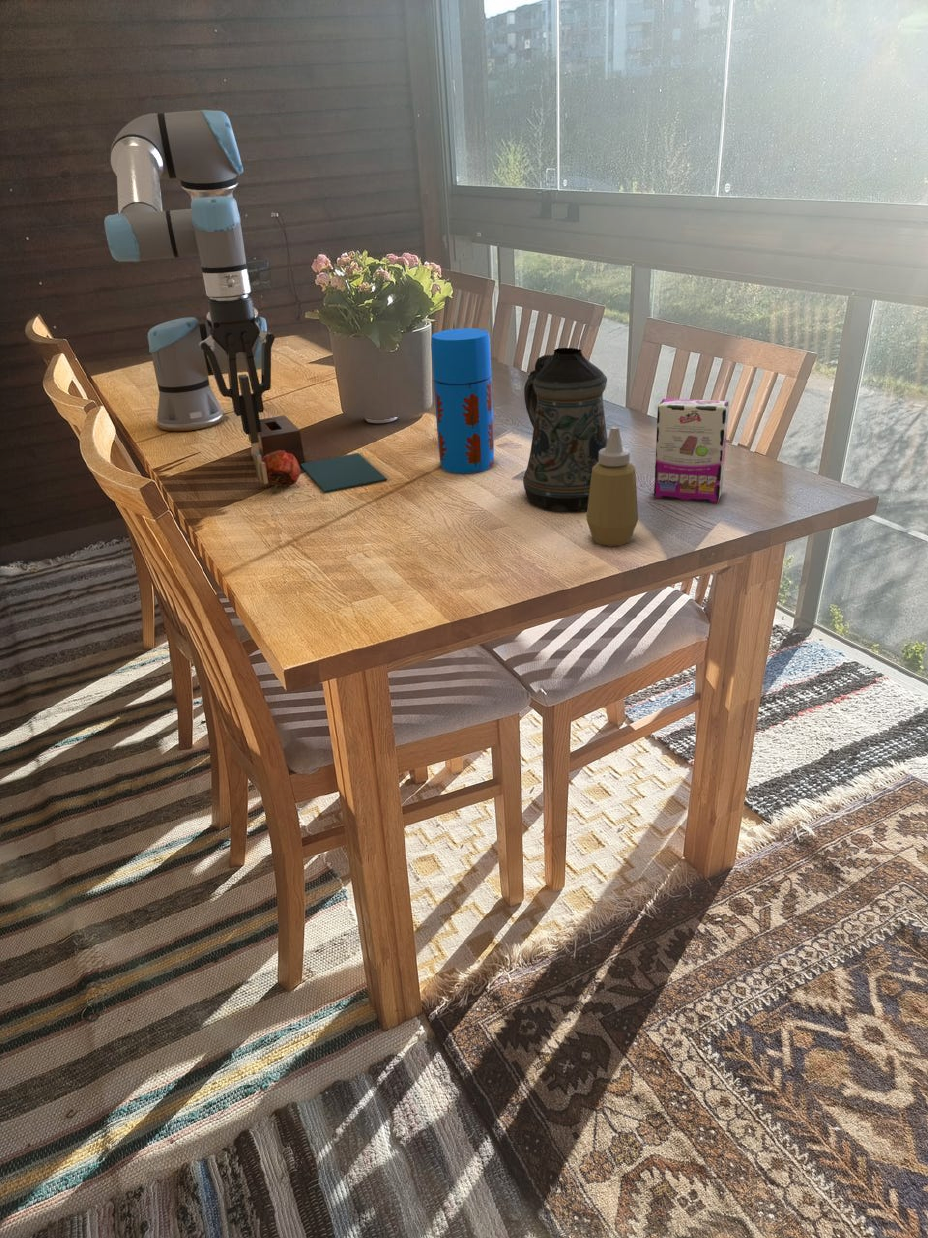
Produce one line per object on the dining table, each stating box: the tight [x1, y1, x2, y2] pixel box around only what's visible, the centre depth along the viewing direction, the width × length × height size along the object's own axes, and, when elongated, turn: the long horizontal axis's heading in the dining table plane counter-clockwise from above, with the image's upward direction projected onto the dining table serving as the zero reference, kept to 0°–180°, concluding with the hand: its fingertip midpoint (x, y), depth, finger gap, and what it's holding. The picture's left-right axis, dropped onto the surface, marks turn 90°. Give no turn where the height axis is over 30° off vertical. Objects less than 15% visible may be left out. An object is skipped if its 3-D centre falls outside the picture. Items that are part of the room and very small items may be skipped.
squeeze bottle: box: [586, 426, 639, 547], centre depth 135 cm, size 8×8×18 cm
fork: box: [237, 374, 269, 485], centre depth 162 cm, size 6×2×20 cm, turn 24°
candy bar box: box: [653, 398, 730, 503], centre depth 149 cm, size 11×5×16 cm, turn 69°
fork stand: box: [257, 414, 306, 466], centre depth 182 cm, size 13×8×7 cm, turn 24°
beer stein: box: [522, 347, 609, 513], centre depth 151 cm, size 16×19×25 cm
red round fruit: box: [262, 448, 301, 494], centre depth 167 cm, size 7×7×10 cm
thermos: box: [430, 327, 495, 475], centre depth 168 cm, size 11×11×25 cm
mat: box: [299, 452, 388, 494], centre depth 174 cm, size 18×12×1 cm
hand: (252, 431), depth 162 cm, fingers closed on fork, 1 cm apart
